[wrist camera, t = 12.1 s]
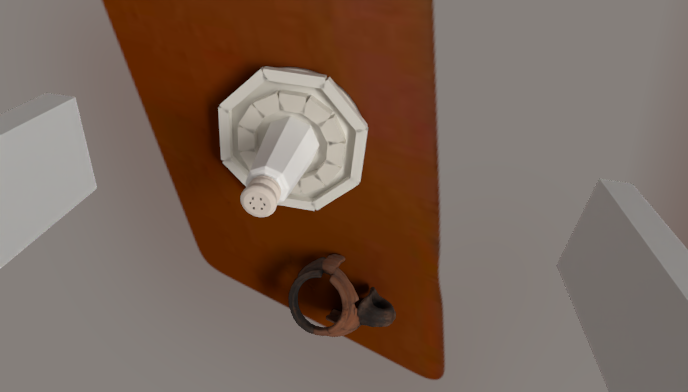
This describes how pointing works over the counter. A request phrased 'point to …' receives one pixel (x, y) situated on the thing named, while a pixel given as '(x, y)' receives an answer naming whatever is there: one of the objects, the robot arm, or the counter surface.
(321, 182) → the dish
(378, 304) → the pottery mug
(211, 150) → the counter surface
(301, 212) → the counter surface
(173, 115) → the counter surface
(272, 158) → the pepper shaker
